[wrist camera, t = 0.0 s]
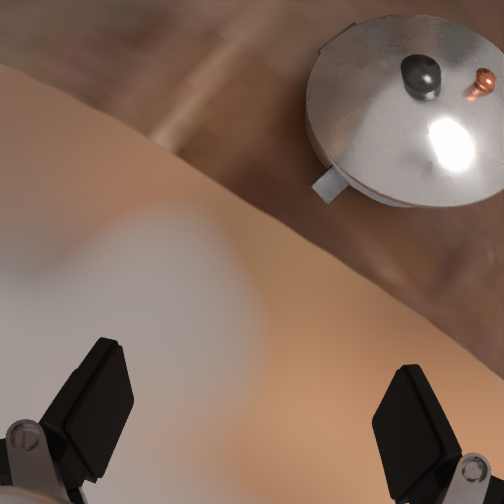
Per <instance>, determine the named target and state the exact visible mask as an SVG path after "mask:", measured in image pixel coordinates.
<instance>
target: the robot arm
mask: <svg viewBox="0 0 504 504" xmlns="http://www.w3.org/2000/svg"><path fill="white" fill-rule="evenodd" d="M133 404H134V396H133V393H132V388H131V384H130V380H129V376H128V371H127V367H126V362H125V358H124V353H123V348H122V346H120V345H118V342H117V341H116V340H112V339H108V338H103V337H101V338H99V339H98V341H97V342H96V343H95V345H94V346H93V347H92V349H91V350H90V352H89V353H88V354H87V356H86V357H85V359H84V360H83V361H82V363H81V365H80V366H79V367H78V368H77V369H75V370H74V371H73V372H72V374H71V375H70V377H69V378H68V380H67V381H66V382H65V384H64V385H63V387H62V388H61V390H60V391H59V393H58V394H57V396H56V397H55V399H54V400H53V402H52V403H51V405H50V406H49V408H48V409H47V411H46V412H45V414H44V415H43V417H42V418H41V420H40V421H39V423H37V422H35V421H33V420H29V419H26V420H25V419H24V420H19V421H16V422H15V423H13V424H12V425H11V426H10V427H9V429H8V430H7V433H6V438H4V439H0V504H88V502H87V500H86V497H85V495H84V493H83V490H82V488H81V487H82V484H83V482H84V480H88V481H90V482H93V483H96V481H97V479H98V478H102V477H103V475H104V473H105V471H106V468H107V466H108V463H109V461H110V458H111V456H112V454H113V451H114V449H115V446H116V444H117V442H118V439H119V437H120V435H121V432H122V430H123V427H124V425H125V423H126V421H127V419H128V416H129V414H130V411H131V409H132V407H133ZM372 427H373V431H374V434H375V438H376V442H377V445H378V449H379V453H380V456H381V460H382V464H383V468H384V472H385V476H386V480H387V484H388V489H389V493H390V497H391V498H392V499H394V500H395V503H396V504H405V503H409V504H504V480H501V479H499V478H497V477H495V476H492V475H491V467H490V464H489V462H488V460H487V459H486V458H485V457H484V456H482V455H480V454H478V453H468V454H466V455H464V456H462V453H461V452H462V450H461V447H460V445H459V443H458V441H457V439H456V437H455V434H454V432H453V430H452V428H451V426H450V424H449V422H448V420H447V418H446V415H445V413H444V411H443V409H442V407H441V405H440V403H439V402H438V400H437V397H436V396H435V394H434V392H433V390H432V388H431V386H430V384H429V382H428V380H427V378H426V377H425V375H424V373H423V371H422V369H421V367H420V366H419V365H418V364H412V365H403V366H402V367H401V368H400V369H398V370H397V371H396V373H395V375H394V377H393V379H392V381H391V383H390V385H389V387H388V389H387V391H386V393H385V395H384V397H383V399H382V401H381V403H380V405H379V407H378V409H377V411H376V413H375V415H374V416H373V419H372Z"/></svg>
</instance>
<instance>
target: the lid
mask: <svg viewBox="0 0 504 504" xmlns="http://www.w3.org/2000/svg"><path fill="white" fill-rule="evenodd" d="M317 52H318V54H319V55H320V56H319V57H318V59H317V60H316V62H315V64H314V66H313V68H312V70H311V73H310V76H309V80H308V84H307V91H306V106H307V112H308V117H309V120H310V123H311V126H312V129H313V131H314V133H315V135H316V137H317V139H318V141H319V142H320V143H321V145H322V146H323V148H324V149H325V151H326V152H327V154H328V155H329V157H330V158H331V159H332V160H333V161H334V162H335V164H336V165H337V166H338V167H339V168H340V169H341V170H342V171H343V172H344V173H346V174H347V175H348V176H349V177H350V178H351V179H353V180H354V181H356V182H357V183H359V184H360V185H362V186H363V187H365V188H366V189H368V190H370V191H372V192H374V193H376V194H378V195H380V196H382V197H384V198H387V199H389V200H392V201H395V202H397V203H401V204H405V205H409V206H413V207H419V208H427V209H455V208H462V207H468V206H471V205H475V204H478V203H481V202H484V201H486V200H488V199H490V198H492V197H494V196H496V195H497V194H499V193H500V192H501V191H503V190H504V54H503V53H502V52H501V51H500V50H499V49H498V48H497V47H496V46H495V45H493V44H492V43H491V42H490V41H488V40H487V39H485V38H484V37H482V36H481V35H480V34H478V33H476V32H474V31H472V30H471V29H469V28H467V27H465V26H462V25H460V24H458V23H455V22H452V21H449V20H446V19H443V18H438V17H434V16H428V15H420V14H396V15H388V16H382V17H378V18H374V19H371V20H368V21H365V22H362V23H360V24H356V23H352V24H351V25H350V26H348V27H347V28H346V29H344V30H343V31H342V32H340V33H339V34H338V35H337V36H335V37H334V38H333V39H331V40H330V41H329V42H328V43H326V44H325V45H324V46H323V47H321V48H320V49H319V50H318V51H317Z"/></svg>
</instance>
